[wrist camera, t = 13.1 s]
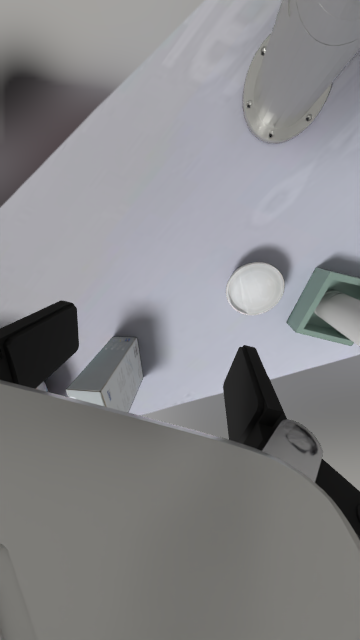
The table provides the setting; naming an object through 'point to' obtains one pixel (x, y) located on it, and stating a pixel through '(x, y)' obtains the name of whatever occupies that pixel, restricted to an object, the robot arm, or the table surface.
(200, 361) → the table surface
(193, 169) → the table surface
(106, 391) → the hard drive box
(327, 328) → the tray
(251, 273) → the ramekin
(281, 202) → the table surface
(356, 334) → the travel mug
